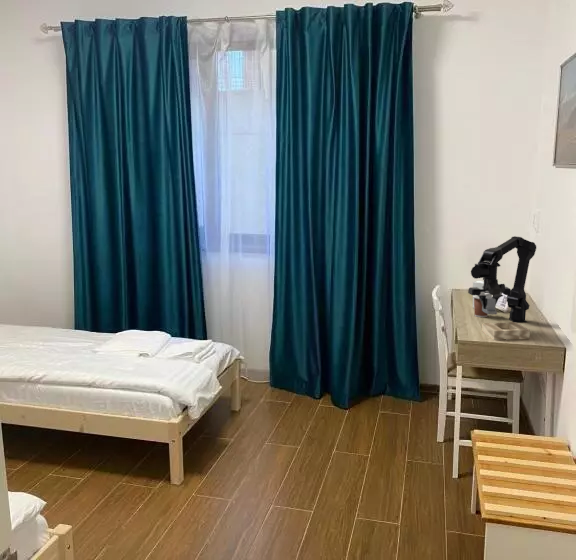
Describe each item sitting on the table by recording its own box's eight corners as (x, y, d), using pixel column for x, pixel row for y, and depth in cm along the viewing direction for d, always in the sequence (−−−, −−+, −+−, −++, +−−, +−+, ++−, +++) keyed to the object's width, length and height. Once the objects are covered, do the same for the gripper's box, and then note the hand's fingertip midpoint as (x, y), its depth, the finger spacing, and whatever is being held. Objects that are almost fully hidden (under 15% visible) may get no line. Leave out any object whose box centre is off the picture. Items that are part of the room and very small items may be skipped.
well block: (515, 330, 284) (516, 322, 283) (529, 338, 270) (529, 330, 270) (481, 331, 283) (482, 323, 282) (493, 339, 269) (494, 331, 269)
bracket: (490, 310, 293) (490, 296, 292) (496, 314, 285) (497, 299, 284) (482, 310, 293) (482, 296, 292) (488, 314, 285) (489, 299, 284)
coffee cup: (494, 316, 310) (495, 293, 308) (478, 318, 308) (479, 295, 305) (483, 313, 319) (484, 290, 317) (468, 314, 316) (469, 291, 314)
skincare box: (491, 309, 327) (492, 282, 324) (484, 311, 323) (485, 283, 321) (478, 306, 333) (480, 279, 331) (471, 308, 330) (472, 281, 328)
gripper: (477, 279, 278) (475, 313, 281) (517, 279, 280) (515, 312, 282) (468, 275, 289) (467, 307, 292) (507, 274, 291) (505, 306, 293)
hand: (488, 308), depth 290 cm, fingers closed on bracket, 4 cm apart
